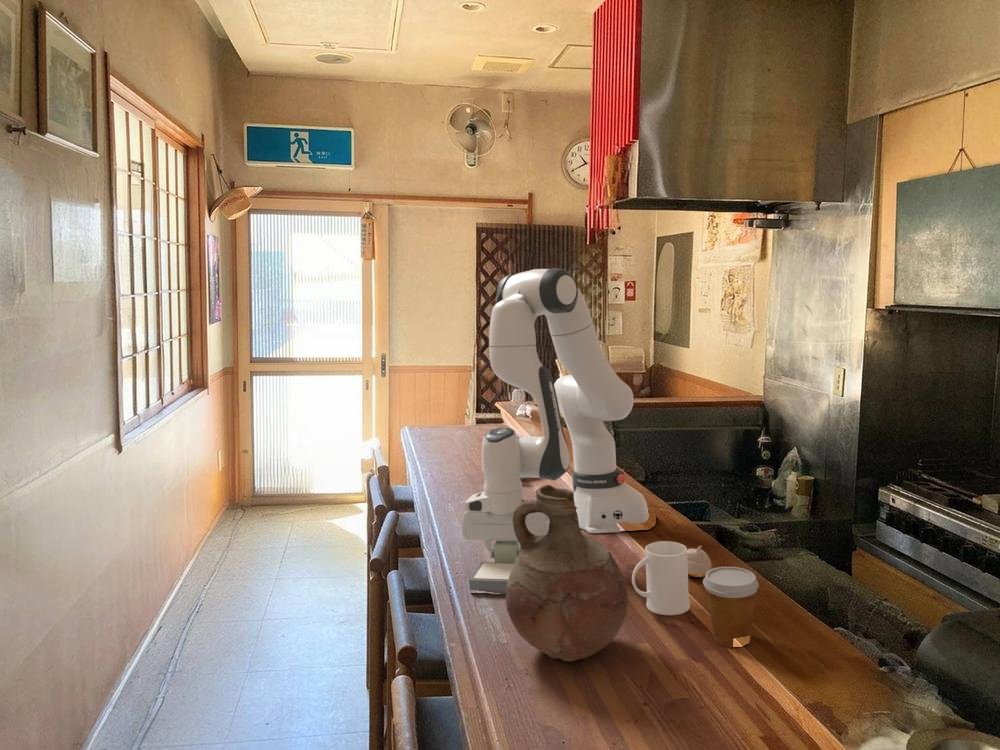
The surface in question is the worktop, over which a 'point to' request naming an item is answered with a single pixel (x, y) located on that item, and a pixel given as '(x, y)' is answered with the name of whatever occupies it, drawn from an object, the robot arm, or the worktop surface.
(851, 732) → the worktop surface
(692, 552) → the garlic bulb
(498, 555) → the green block
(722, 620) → the disposable coffee cup
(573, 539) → the jug
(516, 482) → the robot arm
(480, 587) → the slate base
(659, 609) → the mug
